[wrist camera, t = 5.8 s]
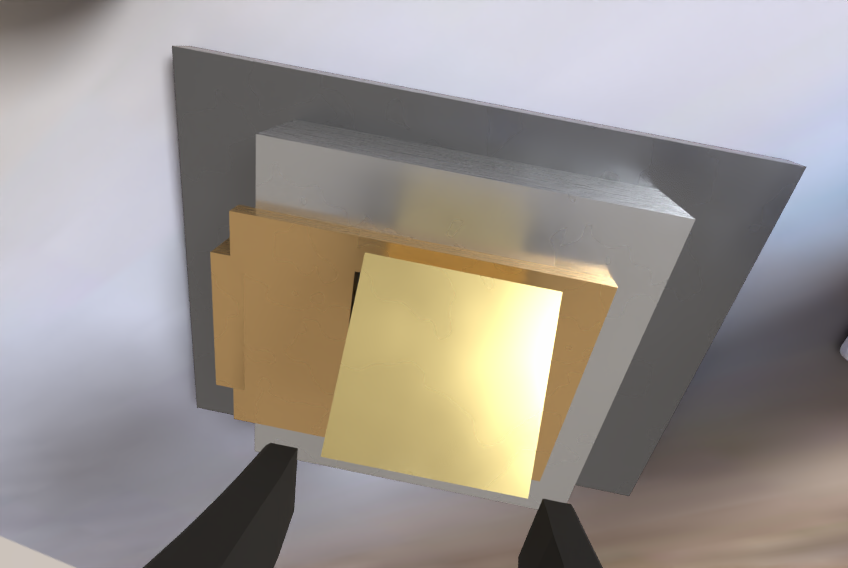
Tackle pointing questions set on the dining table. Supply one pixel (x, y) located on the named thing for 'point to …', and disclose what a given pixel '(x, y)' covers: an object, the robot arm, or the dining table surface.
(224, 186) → the rosette base
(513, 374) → the rectangular block
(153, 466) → the dining table surface
